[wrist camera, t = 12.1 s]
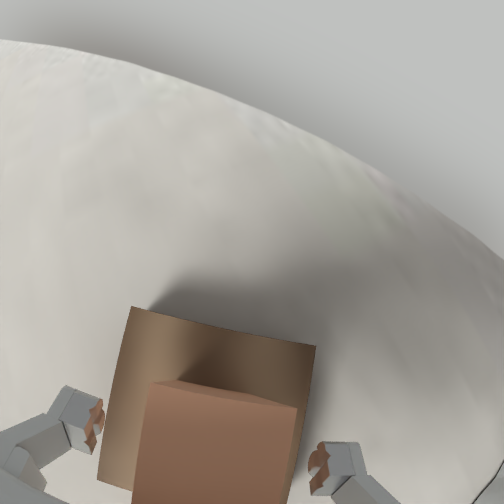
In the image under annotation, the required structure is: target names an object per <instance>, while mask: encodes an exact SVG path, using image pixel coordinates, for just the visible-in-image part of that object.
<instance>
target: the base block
mask: <svg viewBox="0 0 504 504" xmlns="http://www.w3.org/2000/svg"><path fill="white" fill-rule="evenodd" d="M315 350H316V346H314V345H308V344H302V343H296V342H290V341H284V340H279V339H273V338H268V337H263V336H258V335H252V334H247V333H243V332H238V331H233V330H228V329H223V328H219V327H214V326H210V325H205V324H201V323H197V322H192V321H188V320H184V319H180V318H176V317H172V316H168V315H164V314H160V313H156V312H152V311H148V310H144V309H141V308H137V307H133V306H131V309H130V313H129V316H128V320H127V324H126V328H125V332H124V336H123V340H122V344H121V348H120V352H119V357H118V361H117V365H116V370H115V375H114V379H113V384H112V389H111V394H110V399H109V404H108V409H107V415H106V420H105V426H104V432H103V438H102V445H101V452H100V459H99V466H98V474H97V480H99V481H102V482H105V483H108V484H111V485H114V486H117V487H120V488H123V489H126V490H129V491H133V485H134V478H135V470H136V463H137V456H138V450H139V443H140V437H141V431H142V425H143V419H144V413H145V408H146V402H147V397H148V392H149V386H150V382H160V381H170V380H179V381H184V382H188V383H193V384H198V385H203V386H208V387H213V388H218V389H224V390H229V391H235V392H241V393H247V394H252V395H255V396H258V397H261V398H264V399H267V400H270V401H274V402H277V403H280V404H284V405H287V406H291V407H294V408H297V414H296V420H295V426H294V431H293V437H292V442H291V448H290V453H289V458H288V464H287V469H286V474H285V478H284V483H283V488H282V493H281V497H280V502H279V504H286V503H287V499H288V495H289V491H290V487H291V482H292V478H293V473H294V469H295V464H296V459H297V455H298V450H299V445H300V440H301V434H302V429H303V424H304V418H305V413H306V407H307V401H308V396H309V390H310V383H311V377H312V371H313V364H314V357H315Z"/></svg>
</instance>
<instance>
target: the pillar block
mask: <svg viewBox="0 0 504 504" xmlns="http://www.w3.org/2000/svg"><path fill="white" fill-rule="evenodd" d="M296 414H297V408H294V407H291V406H287V405H284V404H280V403H277V402H274V401H270V400H267V399H264V398H261V397H258V396H255V395H252V394H247V393H241V392H235V391H229V390H224V389H218V388H213V387H208V386H203V385H198V384H193V383H188V382H184V381H179V380H170V381H160V382H150V386H149V392H148V397H147V402H146V408H145V413H144V419H143V425H142V431H141V437H140V443H139V450H138V456H137V463H136V470H135V478H134V485H133V493H132V502H131V504H279V502H280V497H281V493H282V488H283V483H284V478H285V474H286V469H287V464H288V458H289V453H290V448H291V442H292V437H293V431H294V426H295V420H296Z"/></svg>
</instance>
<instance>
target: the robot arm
mask: <svg viewBox="0 0 504 504" xmlns="http://www.w3.org/2000/svg"><path fill="white" fill-rule="evenodd" d="M102 406H103V401H102V399H100V398H98V397H95V396H92V395H89V394H87V393H84V392H82V391H79V390H77V389H74V388H72V387H69V386H67V385H65V386H64V387H63V388H62V389H61V391H60V393H59V394H58V396H57V397H56V399H55V401H54V402H53V404H52V406H51V407H50V409H49V411H48V412H47V414H44V413H42V414H40V415H38V416H36V417H33V418H31V419H29V420H27V421H24V422H22V423H20V424H18V425H15V426H13V427H11V428H8V429H6V430H4V431H1V432H0V504H69V503H67V502H64V501H62V500H60V499H58V498H56V497H54V496H51V495H49V494H47V493H45V492H43V491H44V489H45V486H46V484H47V482H46V479H45V478H44V476H43V475H42V473H41V472H40V470H39V469H41V468H43V467H44V466H46V465H47V464H49V463H50V462H52V461H54V460H55V459H57V458H58V457H60V456H61V455H63V454H64V453H66V452H67V451H69V450H70V449H71V448H74V449H76V450H79V451H82V452H84V453H87V454H90V455H92V452H93V450H94V448H95V445H96V443H97V440H96V436H97V435H98V434H100V433H101V431H102V429H103V425H104V421H105V413H104V411H103V410H102V409H101V408H102ZM317 449H318V450H316V451H314V452H313V453H312V454H311V456H310V458H309V462H308V473H309V474H310V475H311V476H312V477H313V478H312V479H311V481H310V482H309V483H310V492H311V496H331V498H332V499H333V501H334V502H335V503H336V504H401V503H399V502H398V501H397V500H396V499H395V498H394V497H393V496H392V495H391V494H390V493H389V492H388V491H387V490H386V489H385V488H383V487H382V486H381V485H380V484H379V483H378V482H377V481H376V480H375V479H374V478H373V477H372V476H371V475H367V471H366V467H365V463H364V459H363V456H362V452H361V448H360V444H359V443H358V442H328V441H322V442H320V443H319V444H318V446H317ZM474 504H504V463H503V465H502V467H501V469H500V470H499V472H498V474H497V476H496V478H495V479H494V480H493V481H492V483H491V484H490V485H489V486H488V487H487V488H486V489H485V490H484V492H483V493H482V494H481V495H480V496H479V497H478V499H477V500H476V501H475V503H474Z"/></svg>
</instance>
